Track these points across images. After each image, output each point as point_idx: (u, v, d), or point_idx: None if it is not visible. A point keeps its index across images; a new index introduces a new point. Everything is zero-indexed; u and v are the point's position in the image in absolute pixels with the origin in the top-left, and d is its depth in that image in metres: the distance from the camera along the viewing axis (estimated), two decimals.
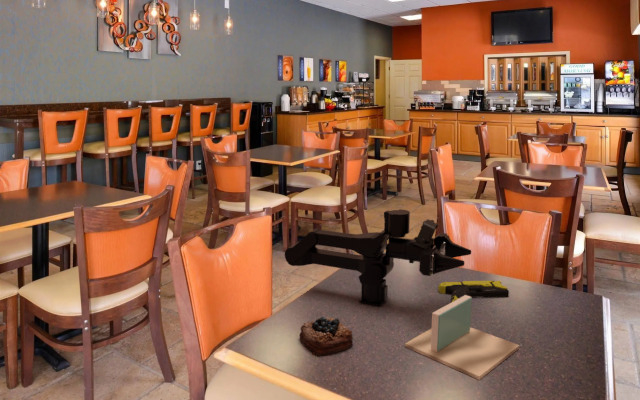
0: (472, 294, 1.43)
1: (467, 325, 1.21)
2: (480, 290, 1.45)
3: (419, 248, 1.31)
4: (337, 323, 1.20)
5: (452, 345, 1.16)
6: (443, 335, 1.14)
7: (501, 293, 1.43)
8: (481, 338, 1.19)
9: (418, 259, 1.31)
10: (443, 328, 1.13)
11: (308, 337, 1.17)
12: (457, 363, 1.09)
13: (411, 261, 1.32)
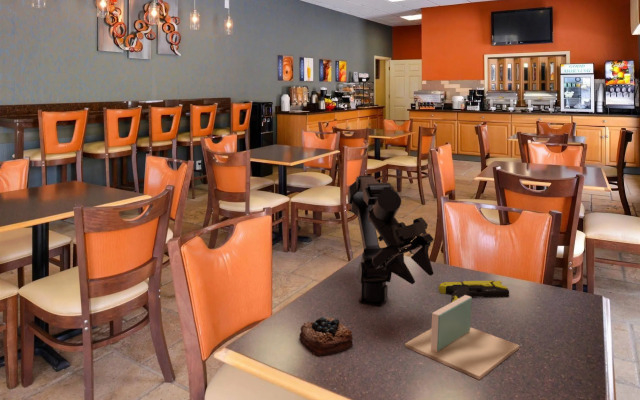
0: (472, 294, 1.43)
1: (467, 325, 1.21)
2: (480, 290, 1.45)
3: (393, 237, 1.23)
4: (337, 323, 1.20)
5: (452, 345, 1.16)
6: (443, 335, 1.14)
7: (502, 293, 1.43)
8: (481, 338, 1.19)
9: (386, 243, 1.25)
10: (443, 328, 1.13)
11: (308, 337, 1.17)
12: (457, 363, 1.09)
13: (380, 239, 1.26)
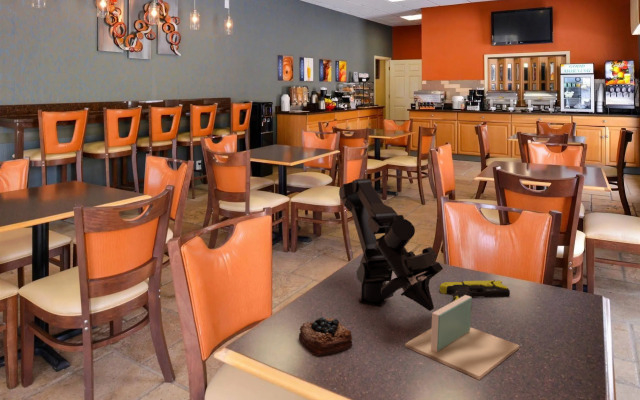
0: (473, 294, 1.43)
1: (467, 325, 1.21)
2: (481, 290, 1.45)
3: (402, 267, 1.23)
4: (336, 323, 1.20)
5: (452, 345, 1.16)
6: (443, 335, 1.14)
7: (502, 293, 1.43)
8: (481, 338, 1.19)
9: (394, 272, 1.25)
10: (443, 328, 1.13)
11: (307, 337, 1.16)
12: (457, 363, 1.09)
13: (388, 268, 1.26)
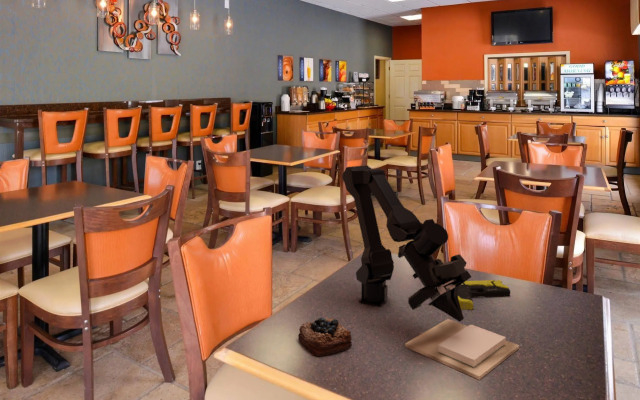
0: (474, 294, 1.43)
1: None
2: (482, 290, 1.46)
3: (430, 275, 1.17)
4: (336, 324, 1.20)
5: None
6: None
7: (503, 292, 1.44)
8: None
9: (421, 281, 1.19)
10: None
11: (307, 338, 1.16)
12: (457, 363, 1.09)
13: (415, 276, 1.20)
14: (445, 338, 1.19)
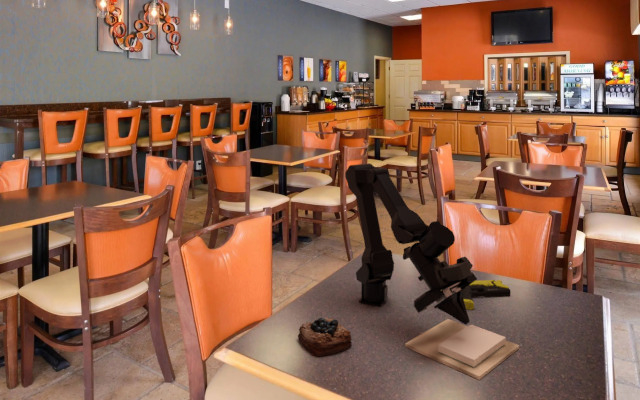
0: (475, 294, 1.43)
1: None
2: (482, 290, 1.46)
3: (435, 278, 1.16)
4: (336, 324, 1.20)
5: None
6: None
7: (503, 292, 1.44)
8: None
9: (427, 283, 1.18)
10: None
11: (307, 338, 1.16)
12: (457, 363, 1.09)
13: (420, 278, 1.19)
14: (445, 338, 1.19)
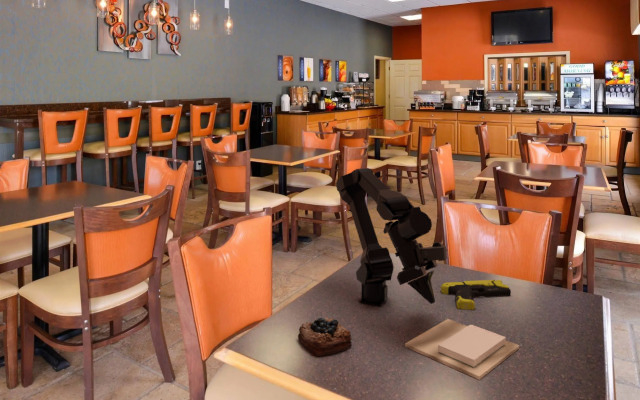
0: (475, 294, 1.43)
1: None
2: (482, 290, 1.46)
3: (415, 256, 1.21)
4: (336, 324, 1.20)
5: None
6: None
7: (504, 292, 1.44)
8: None
9: (403, 260, 1.22)
10: None
11: (307, 338, 1.16)
12: (457, 363, 1.09)
13: (397, 254, 1.23)
14: (445, 338, 1.19)
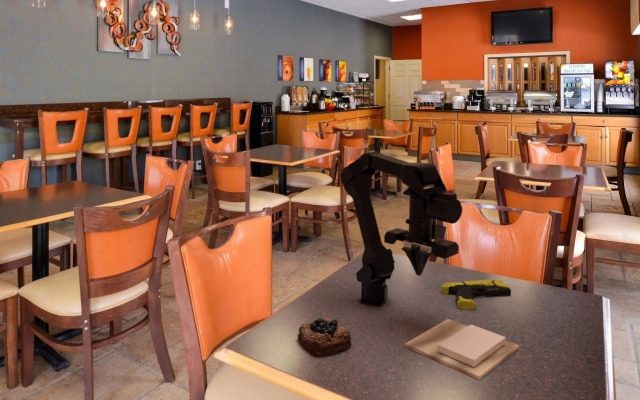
0: (475, 294, 1.43)
1: None
2: (483, 289, 1.46)
3: (432, 229, 1.23)
4: (335, 324, 1.20)
5: None
6: None
7: (504, 292, 1.44)
8: None
9: (424, 231, 1.21)
10: None
11: (306, 338, 1.16)
12: (457, 363, 1.09)
13: (423, 225, 1.20)
14: (445, 338, 1.19)
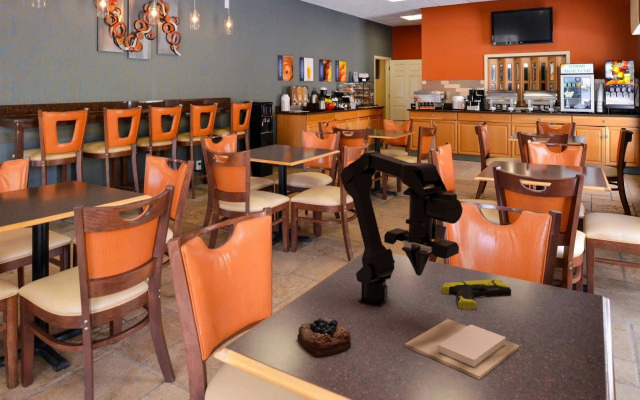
0: (476, 294, 1.43)
1: None
2: (483, 289, 1.46)
3: (432, 230, 1.23)
4: (335, 324, 1.19)
5: None
6: None
7: (504, 292, 1.44)
8: None
9: (425, 231, 1.21)
10: None
11: (306, 338, 1.16)
12: (457, 363, 1.09)
13: (423, 225, 1.20)
14: (445, 338, 1.19)
